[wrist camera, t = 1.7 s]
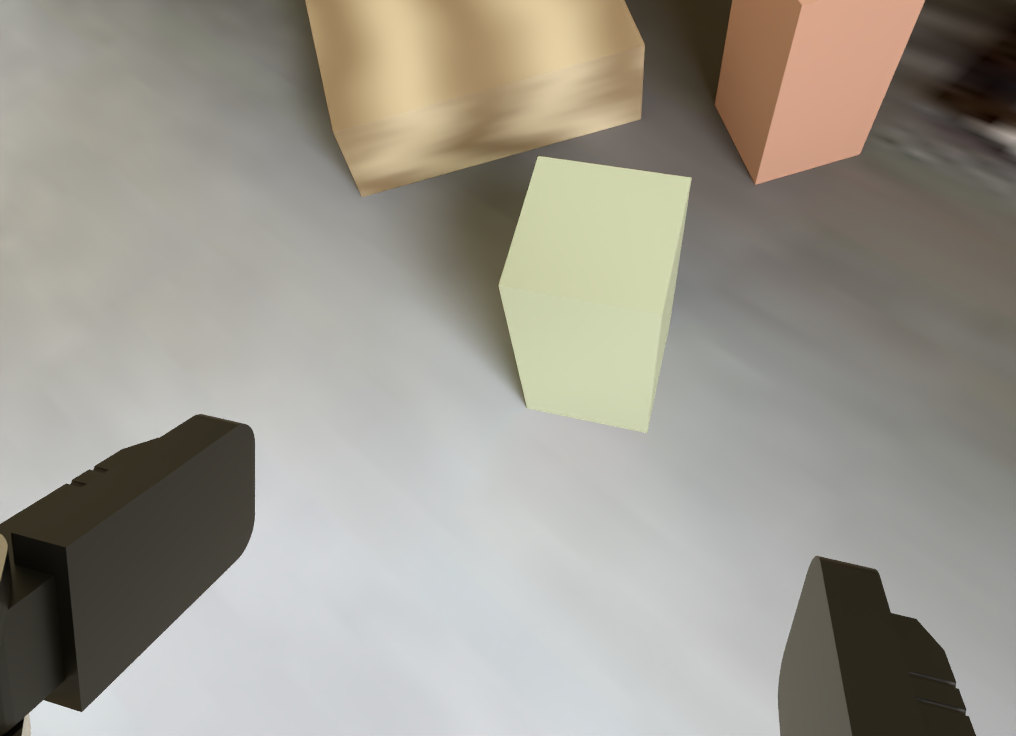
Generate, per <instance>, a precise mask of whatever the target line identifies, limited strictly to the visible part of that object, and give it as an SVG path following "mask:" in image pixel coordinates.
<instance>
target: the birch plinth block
mask: <svg viewBox="0 0 1016 736" xmlns="http://www.w3.org/2000/svg"><path fill="white" fill-rule="evenodd" d="M305 1H306V6H307V11H308V16H309V20H310V25H311V30H312V35H313V39H314V44H315V49H316V54H317V58H318V63H319V68H320V72H321V77H322V82H323V87H324V91H325V96H326V101H327V106H328V110H329V115H330V120H331V125H332V129H333V133H334V135H335V137H336V140H337V142H338V144H339V146H340V149H341V151H342V153H343V155H344V158H345V160H346V162H347V164H348V167H349V169H350V171H351V173H352V176H353V178H354V180H355V182H356V185H357V187H358V189H359V191H360V194H361V196H362V197H364V196H367V195H371V194H374V193H378V192H382V191H385V190H389V189H392V188H396V187H400V186H403V185H407V184H410V183H414V182H417V181H421V180H425V179H428V178H432V177H435V176H439V175H442V174H446V173H450V172H453V171H457V170H460V169H464V168H468V167H471V166H475V165H478V164H482V163H485V162H489V161H493V160H496V159H500V158H503V157H507V156H510V155H514V154H518V153H521V152H525V151H528V150H532V149H536V148H539V147H543V146H546V145H550V144H553V143H557V142H561V141H564V140H568V139H571V138H575V137H578V136H582V135H586V134H589V133H593V132H596V131H600V130H604V129H607V128H611V127H614V126H618V125H621V124H625V123H629V122H632V121H636V120H639V119H641V108H642V89H643V70H644V50H645V44H644V42H643V40H642V38H641V36H640V33H639V31H638V29H637V27H636V25H635V23H634V20H633V18H632V16H631V14H630V12H629V10H628V7H627V5H626V3H625V1H624V0H305Z"/></svg>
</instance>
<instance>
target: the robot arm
mask: <svg viewBox="0 0 1016 736" xmlns="http://www.w3.org/2000/svg"><path fill="white" fill-rule="evenodd" d="M254 520H255V438H254V434H253V431H252V429H251V427H249V426H248V425H246V424H242V423H238V422H234V421H229V420H225V419H221V418H216V417H212V416H207V415H203V414H199V415H195V416H193V417H192V418H190V419H188V420H187V421H185V422H184V423H182V424H181V425H179V426H177V427H176V428H174V429H173V430H171V431H170V432H168V433H166V434H165V435H163V436H162V437H160V438H156V439H153V440H150V441H147V442H143V443H140V444H137V445H134V446H131V447H128V448H125V449H122V450H120V451H119V452H117V453H115V454H114V455H112V456H110V457H109V458H107V459H106V460H104V461H102V462H101V463H99V464H97V465H96V466H95V467H94V470H88V471H86V472H84V473H83V474H81V475H79V476H78V477H76V478H75V479H73V480H72V483H71V484H70V485H69V484H65V485H63V486H62V487H60V488H58V489H57V490H55V491H53V492H52V493H50V494H48V495H47V496H45V497H44V498H42V499H40V500H39V501H37V502H35V503H34V504H32V505H31V506H29V507H27V508H26V509H24V510H22V511H21V512H19V513H18V514H16V515H14V516H13V517H11V518H9V519H8V520H6V521H4V522H3V523H1V524H0V736H31V726H30V718H29V712H30V711H32V710H33V709H34V708H35V707H36V706H37V705H38V704H39V703H40V702H42V701H43V700H45V701H48V702H52V703H55V704H58V705H61V706H64V707H67V708H70V709H74V710H77V711H80V712H82V711H83V710H84V709H85V708H86V707H87V706H88V705H89V704H91V703H92V702H93V701H94V700H95V699H96V698H97V697H98V696H99V695H100V694H101V693H102V692H103V691H104V690H105V689H106V688H107V687H108V686H109V685H110V684H111V683H112V682H113V681H114V680H115V679H116V678H117V677H118V676H119V675H120V674H121V673H122V672H123V671H124V670H125V669H126V668H127V667H128V666H129V665H130V664H131V663H132V662H133V661H134V660H135V659H136V658H137V657H138V656H139V655H141V654H142V653H143V652H144V651H145V650H146V649H147V648H148V647H149V646H150V645H151V644H152V643H153V642H154V641H155V640H156V639H157V638H158V637H159V636H160V635H161V634H162V633H163V632H164V631H165V630H166V629H167V628H168V627H169V626H170V625H171V624H172V623H173V622H174V621H175V620H176V619H177V618H178V617H179V616H180V615H181V614H182V613H183V612H184V611H185V610H186V609H187V608H188V607H189V606H191V605H192V604H193V603H194V602H195V601H196V600H197V599H198V598H199V597H200V596H201V595H202V594H203V593H204V592H205V591H206V590H207V589H208V588H209V587H210V586H211V585H212V584H213V583H214V582H215V581H216V580H217V579H218V578H219V577H220V576H221V575H222V574H223V573H224V572H225V571H226V570H227V569H228V568H229V567H230V566H231V565H232V564H233V563H234V562H235V561H236V560H237V559H238V558H239V557H240V556H241V555H242V553H243V552H244V550H245V548H246V546H247V544H248V542H249V540H250V537H251V534H252V531H253V526H254ZM778 709H779V722H780V735H781V736H976V735H975V732H974V729H973V726H972V724H971V721H970V718H969V716H966V714H965V713H966V708H965V705H964V702H963V699H962V697H961V694H960V691H959V689H957V688H956V681H955V678H954V675H953V673H952V670H951V667H950V664H949V662H948V659H947V656H946V654H945V651H944V650H943V648H942V647H941V646H940V645H939V644H938V643H937V642H936V641H935V640H934V638H933V637H932V636H931V635H930V634H929V633H928V632H927V631H926V629H925V628H924V627H923V626H922V625H921V624H920V623H919V622H918V620H917V619H914V618H909V617H905V616H901V615H897V614H893V613H891V612H890V609H889V605H888V602H887V599H886V595H885V592H884V588H883V585H882V582H881V578H880V575H879V573H878V571H877V570H876V569H872V568H868V567H863V566H859V565H855V564H850V563H846V562H841V561H837V560H833V559H828V558H824V557H820V556H815V557H814V558H813V560H812V562H811V564H810V566H809V569H808V572H807V575H806V579H805V582H804V585H803V589H802V592H801V596H800V599H799V603H798V606H797V610H796V613H795V616H794V620H793V623H792V627H791V630H790V634H789V637H788V640H787V644H786V647H785V651H784V655H783V659H782V664H781V670H780V677H779V686H778Z"/></svg>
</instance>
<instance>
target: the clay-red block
mask: <svg viewBox="0 0 1016 736" xmlns="http://www.w3.org/2000/svg"><path fill="white" fill-rule="evenodd" d="M924 2H925V0H732V5H731V11H730V17H729V23H728V29H727V35H726V41H725V47H724V53H723V59H722V65H721V71H720V77H719V83H718V89H717V95H716V101H715V106H716V108H717V110H718V112H719V114H720V116H721V118H722V120H723V122H724V124H725V126H726V128H727V130H728V132H729V134H730V136H731V138H732V140H733V142H734V144H735V146H736V148H737V150H738V152H739V154H740V156H741V158H742V160H743V162H744V164H745V166H746V168H747V170H748V171H749V173H750V175H751V177H752V179H753V181H754V183H755V185H756V184H759V183H763V182H766V181H769V180H773V179H776V178H780V177H783V176H787V175H790V174H794V173H797V172H800V171H804V170H807V169H811V168H814V167H818V166H821V165H825V164H828V163H831V162H835V161H838V160H842V159H845V158H849V157H852V156H856V155H859V154H860V153H861V150H862V148H863V145H864V143H865V141H866V138H867V136H868V134H869V131H870V129H871V127H872V124H873V122H874V120H875V117H876V115H877V112H878V110H879V108H880V105H881V103H882V101H883V98H884V96H885V94H886V91H887V89H888V87H889V84H890V82H891V80H892V77H893V75H894V72H895V70H896V68H897V65H898V63H899V61H900V58H901V56H902V54H903V51H904V49H905V47H906V44H907V42H908V39H909V37H910V35H911V32H912V30H913V28H914V25H915V23H916V21H917V18H918V16H919V14H920V11H921V9H922V6H923V4H924Z"/></svg>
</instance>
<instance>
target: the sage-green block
mask: <svg viewBox="0 0 1016 736" xmlns="http://www.w3.org/2000/svg"><path fill="white" fill-rule="evenodd" d="M690 184H691V178H689V177H682V176H675V175H668V174H661V173H654V172H647V171H640V170H633V169H626V168H619V167H612V166H605V165H598V164H591V163H584V162H576V161H569V160H562V159H555V158H548V157H541V156H538V158H537V161H536V165H535V168H534V171H533V174H532V178H531V181H530V184H529V188H528V191H527V194H526V197H525V201H524V204H523V207H522V210H521V214H520V217H519V220H518V224H517V227H516V230H515V233H514V237H513V240H512V243H511V246H510V250H509V253H508V256H507V259H506V263H505V266H504V269H503V273H502V276H501V279H500V282H499V290H500V294H501V299H502V303H503V307H504V311H505V316H506V320H507V324H508V329H509V333H510V337H511V341H512V346H513V350H514V354H515V359H516V363H517V367H518V371H519V376H520V380H521V384H522V389H523V393H524V397H525V401H526V406H527V408H528V409H533V410H538V411H543V412H548V413H553V414H557V415H562V416H567V417H572V418H577V419H582V420H587V421H591V422H596V423H601V424H606V425H611V426H616V427H620V428H625V429H630V430H635V431H640V432H645V433H647V431H648V426H649V421H650V417H651V412H652V407H653V402H654V397H655V393H656V388H657V383H658V378H659V373H660V368H661V364H662V359H663V354H664V349H665V344H666V340H667V335H668V330H669V325H670V319H671V312H672V305H673V298H674V292H675V285H676V278H677V272H678V265H679V258H680V251H681V245H682V238H683V231H684V225H685V218H686V211H687V205H688V198H689V191H690Z"/></svg>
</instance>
